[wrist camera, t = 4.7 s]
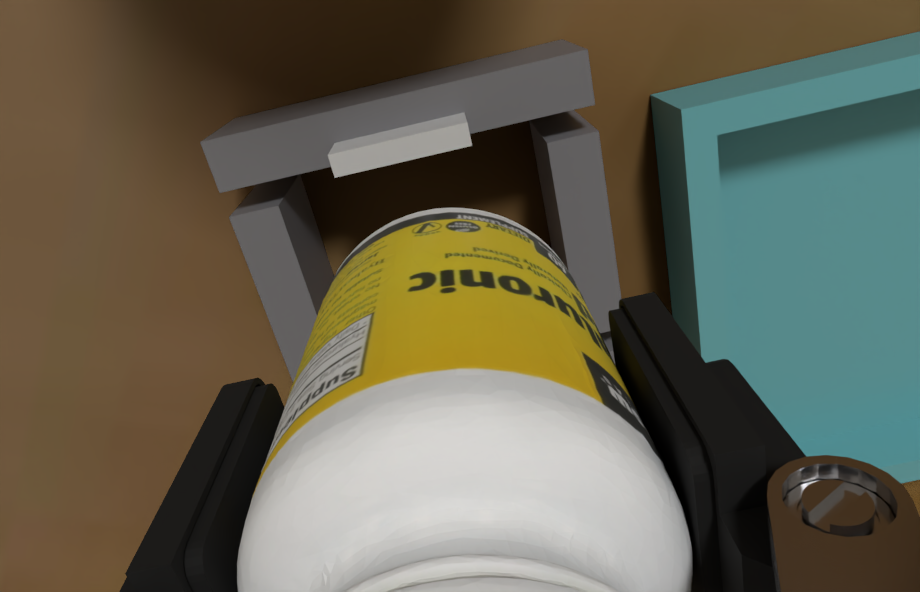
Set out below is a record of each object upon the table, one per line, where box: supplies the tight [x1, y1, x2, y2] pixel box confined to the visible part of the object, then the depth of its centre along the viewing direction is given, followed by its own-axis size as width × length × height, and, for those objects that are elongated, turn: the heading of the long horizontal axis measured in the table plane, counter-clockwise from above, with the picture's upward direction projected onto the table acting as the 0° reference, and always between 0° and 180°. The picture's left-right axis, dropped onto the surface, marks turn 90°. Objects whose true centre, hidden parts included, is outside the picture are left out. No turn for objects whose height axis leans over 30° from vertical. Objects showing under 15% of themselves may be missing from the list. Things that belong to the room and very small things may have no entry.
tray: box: [650, 32, 920, 483], centre depth 19 cm, size 13×13×2 cm
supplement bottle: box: [237, 207, 693, 592], centre depth 10 cm, size 5×5×10 cm
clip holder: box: [200, 40, 621, 382], centre depth 18 cm, size 9×9×4 cm
